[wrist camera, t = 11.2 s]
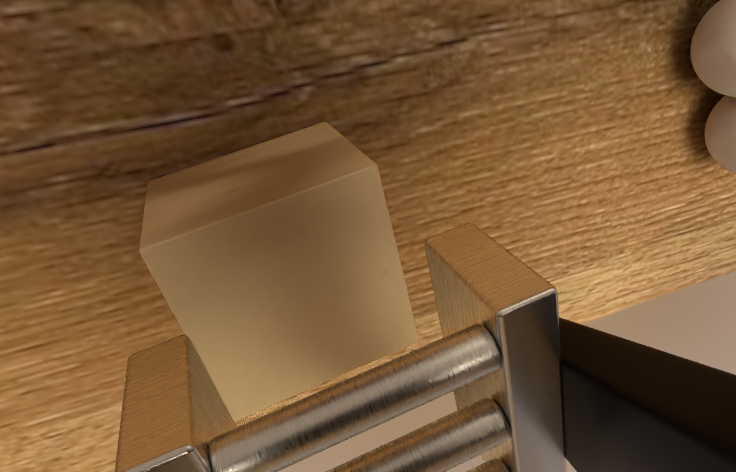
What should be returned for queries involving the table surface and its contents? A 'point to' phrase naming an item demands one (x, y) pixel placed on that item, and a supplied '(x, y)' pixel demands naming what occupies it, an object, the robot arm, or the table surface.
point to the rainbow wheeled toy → (718, 78)
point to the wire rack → (382, 387)
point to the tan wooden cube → (279, 265)
